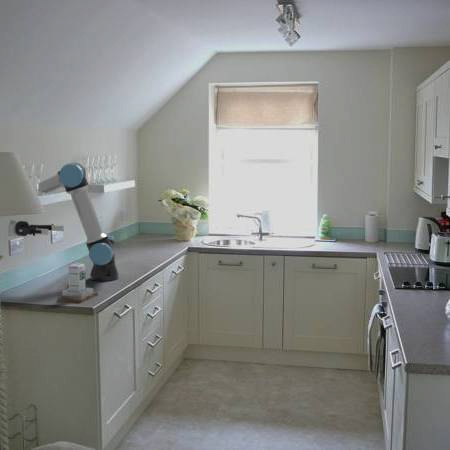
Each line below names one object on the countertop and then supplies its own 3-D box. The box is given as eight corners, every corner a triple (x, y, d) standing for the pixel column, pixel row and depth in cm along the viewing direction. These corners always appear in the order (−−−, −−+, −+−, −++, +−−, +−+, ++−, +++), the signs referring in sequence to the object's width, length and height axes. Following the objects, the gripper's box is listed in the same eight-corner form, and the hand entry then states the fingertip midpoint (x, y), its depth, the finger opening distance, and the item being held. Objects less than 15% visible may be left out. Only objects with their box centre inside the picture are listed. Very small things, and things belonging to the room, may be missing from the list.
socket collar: (74, 291, 307) (73, 286, 307) (93, 293, 304) (93, 288, 303) (62, 296, 297) (62, 291, 297) (81, 298, 294) (81, 292, 294)
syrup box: (80, 296, 297) (79, 266, 295) (69, 295, 299) (68, 265, 297) (86, 294, 302) (85, 263, 300) (75, 293, 304) (74, 263, 302)
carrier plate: (75, 293, 310) (75, 290, 310) (97, 295, 306) (97, 292, 306) (57, 300, 295) (57, 297, 295) (80, 302, 291) (80, 299, 291)
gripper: (33, 232, 333) (69, 234, 326) (3, 239, 309) (41, 241, 303) (33, 218, 332) (69, 219, 325) (2, 223, 308) (40, 225, 302)
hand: (55, 230), depth 314 cm, fingers open, 13 cm apart
